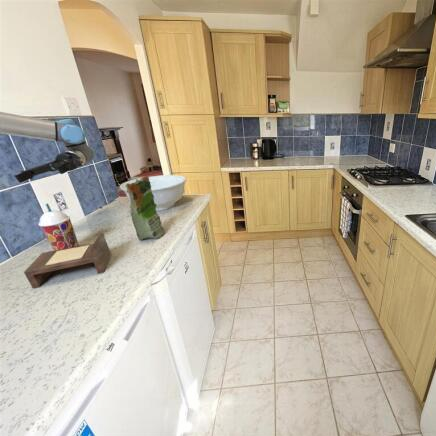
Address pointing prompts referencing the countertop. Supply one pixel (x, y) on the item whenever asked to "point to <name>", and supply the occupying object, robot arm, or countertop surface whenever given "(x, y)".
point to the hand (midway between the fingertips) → (39, 174)
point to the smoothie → (58, 229)
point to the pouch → (144, 210)
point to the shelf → (68, 260)
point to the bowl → (163, 190)
